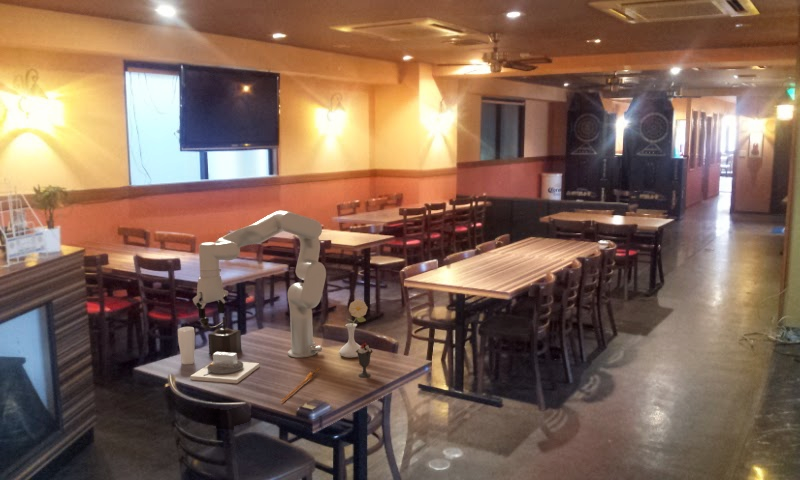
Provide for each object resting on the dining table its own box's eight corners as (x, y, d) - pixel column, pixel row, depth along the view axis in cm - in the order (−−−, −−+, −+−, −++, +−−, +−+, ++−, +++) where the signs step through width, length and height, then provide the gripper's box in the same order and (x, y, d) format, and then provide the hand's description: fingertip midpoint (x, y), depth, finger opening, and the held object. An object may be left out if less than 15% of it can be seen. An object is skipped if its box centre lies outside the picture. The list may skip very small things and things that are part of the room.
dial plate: (259, 366, 284) (259, 362, 284) (236, 383, 265) (236, 379, 265) (215, 363, 289) (215, 359, 289) (190, 379, 270) (190, 375, 270)
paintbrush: (279, 406, 245) (279, 399, 244) (317, 371, 278) (317, 364, 277) (283, 407, 244) (282, 400, 244) (320, 371, 277) (320, 364, 277)
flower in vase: (336, 359, 293) (334, 302, 289) (341, 351, 304) (340, 296, 300) (366, 360, 291) (365, 303, 287) (370, 352, 302) (369, 296, 298)
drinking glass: (191, 366, 286) (189, 331, 284) (176, 365, 288) (174, 330, 286) (199, 360, 293) (197, 326, 291) (184, 360, 294) (182, 326, 292)
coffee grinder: (221, 347, 311) (219, 309, 308) (242, 350, 307) (240, 311, 304) (199, 358, 297) (197, 317, 294) (221, 360, 293) (218, 320, 290)
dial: (249, 364, 282) (248, 349, 281) (233, 375, 269) (232, 360, 268) (218, 361, 285) (217, 347, 285) (201, 372, 272) (200, 357, 271)
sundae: (360, 379, 268) (359, 342, 266) (353, 374, 274) (352, 338, 272) (375, 376, 271) (375, 339, 269) (368, 371, 277) (367, 335, 275)
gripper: (220, 269, 282) (222, 309, 284) (186, 276, 268) (188, 318, 270) (232, 271, 278) (234, 312, 280) (198, 278, 263) (200, 321, 266)
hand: (211, 315), depth 275 cm, fingers open, 9 cm apart
